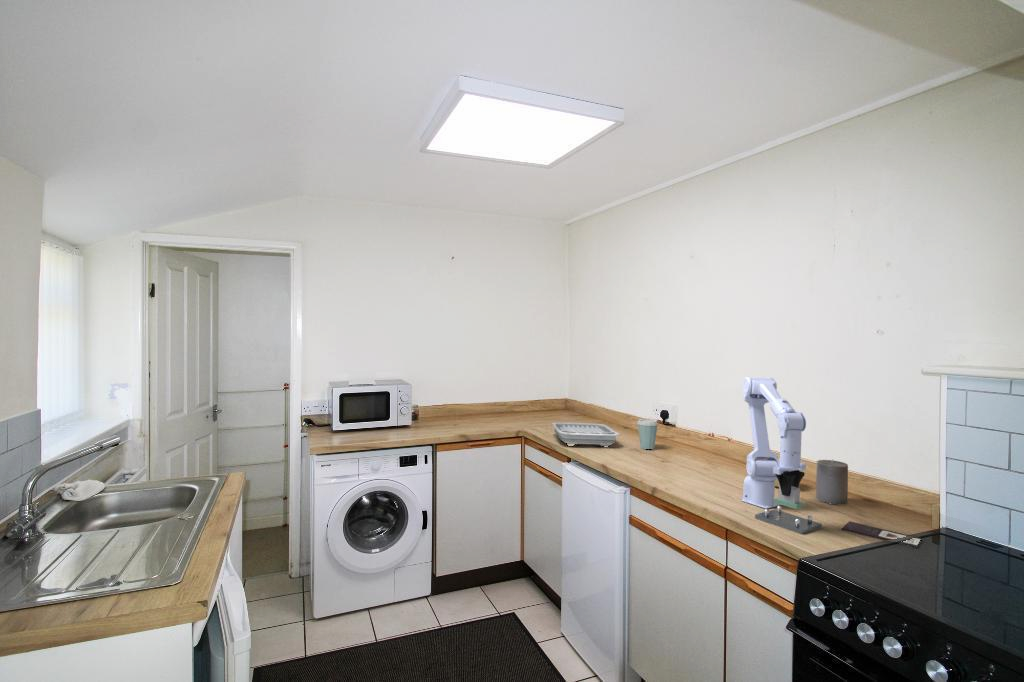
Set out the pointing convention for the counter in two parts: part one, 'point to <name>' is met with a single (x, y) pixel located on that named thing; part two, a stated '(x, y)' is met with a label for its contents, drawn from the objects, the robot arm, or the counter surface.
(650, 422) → the disposable coffee cup
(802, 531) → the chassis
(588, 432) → the dish rack
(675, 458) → the counter surface
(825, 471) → the pillar candle
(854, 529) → the chocolate bar
